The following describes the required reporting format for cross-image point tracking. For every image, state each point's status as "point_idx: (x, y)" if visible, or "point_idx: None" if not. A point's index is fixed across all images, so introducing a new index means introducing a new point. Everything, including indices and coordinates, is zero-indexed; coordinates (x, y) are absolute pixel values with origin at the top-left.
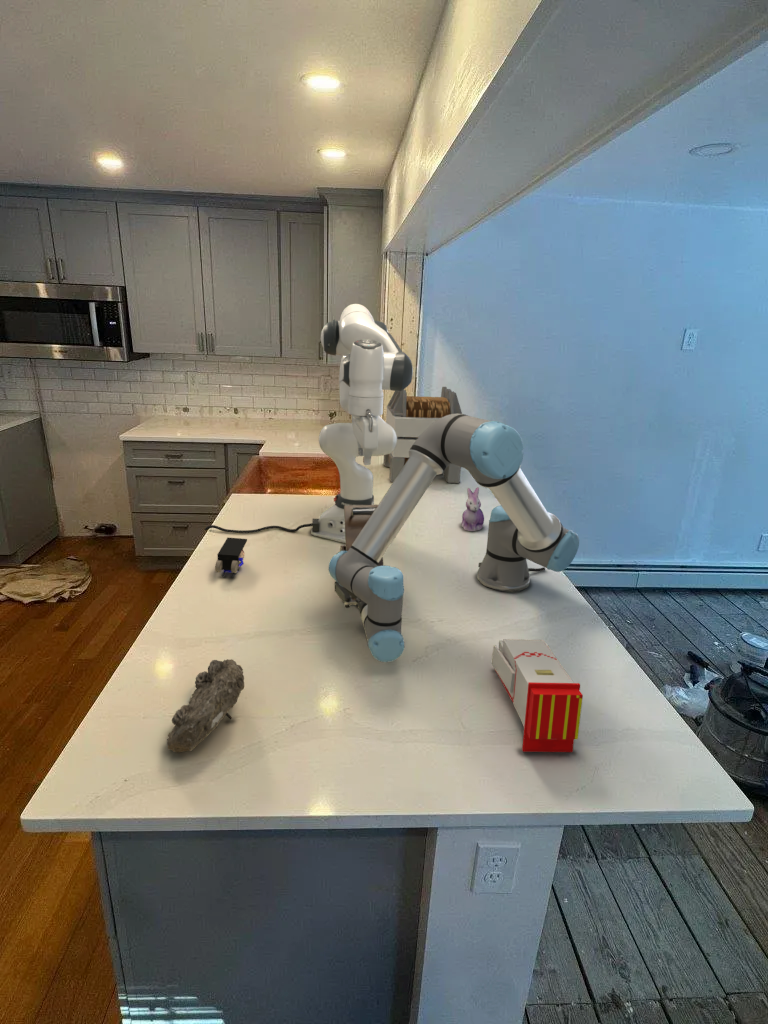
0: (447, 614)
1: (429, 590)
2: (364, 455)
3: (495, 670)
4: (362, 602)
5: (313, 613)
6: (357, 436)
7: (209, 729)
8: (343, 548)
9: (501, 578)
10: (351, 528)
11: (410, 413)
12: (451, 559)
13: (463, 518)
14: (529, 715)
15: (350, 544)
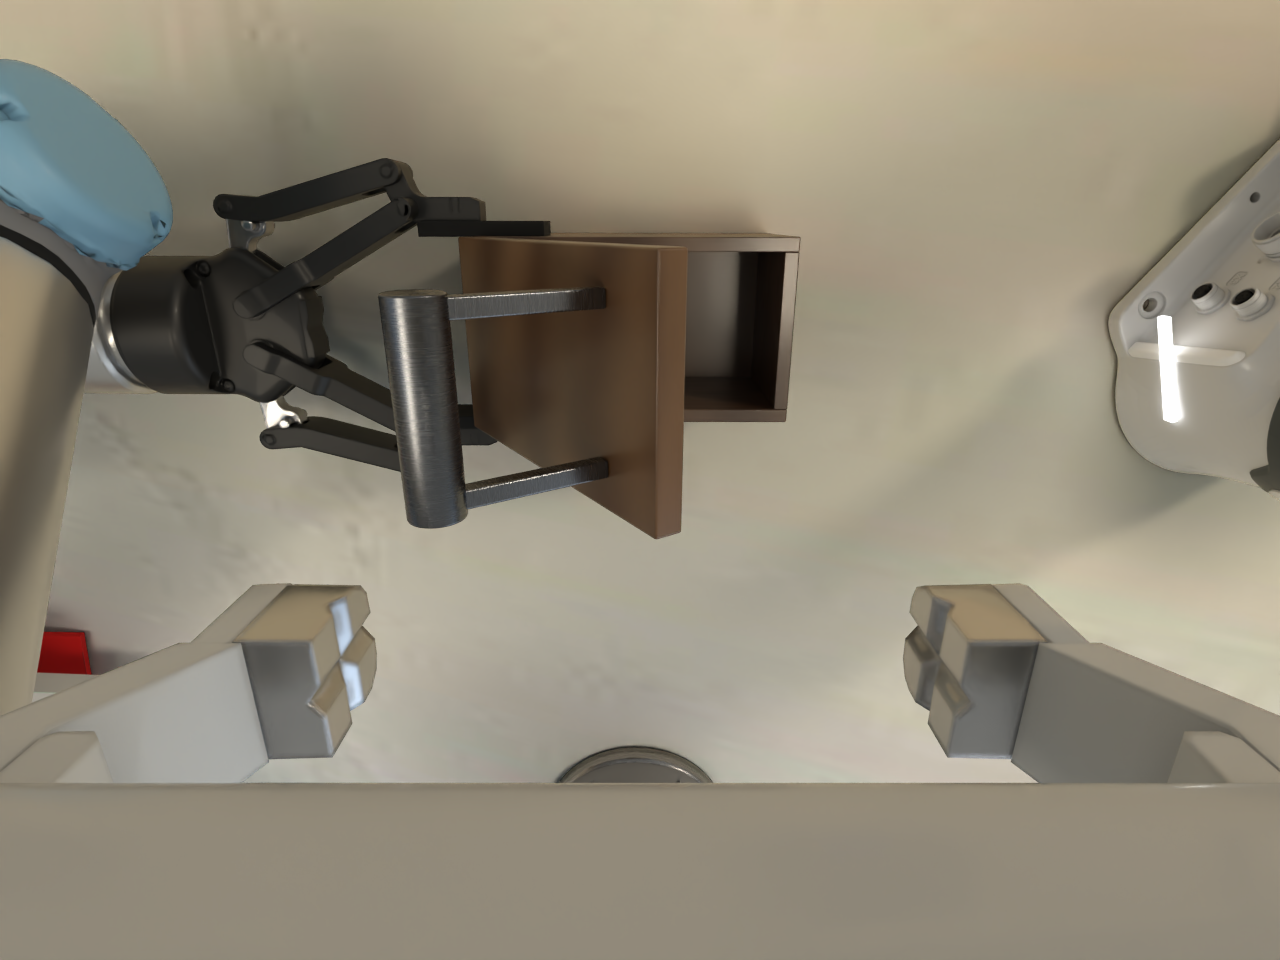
0: (403, 590)
1: (581, 574)
2: (85, 689)
3: (76, 632)
4: (147, 270)
5: (403, 66)
6: (754, 919)
7: None
8: (757, 250)
9: None
10: (560, 287)
11: None
12: (830, 710)
13: None
14: None
15: (512, 268)
